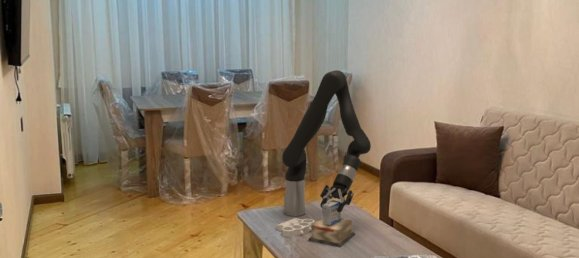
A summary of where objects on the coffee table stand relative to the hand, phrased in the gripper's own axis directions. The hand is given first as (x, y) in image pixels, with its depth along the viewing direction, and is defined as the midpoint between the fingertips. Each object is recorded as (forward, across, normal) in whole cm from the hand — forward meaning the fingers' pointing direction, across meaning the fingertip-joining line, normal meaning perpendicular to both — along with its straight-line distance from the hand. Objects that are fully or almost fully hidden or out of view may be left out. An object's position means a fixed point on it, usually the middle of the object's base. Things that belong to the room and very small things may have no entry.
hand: (330, 209), depth 249 cm
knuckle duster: (+10, -18, +9) cm, 23 cm away
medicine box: (+3, 0, +6) cm, 7 cm away
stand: (+8, 0, +10) cm, 13 cm away
